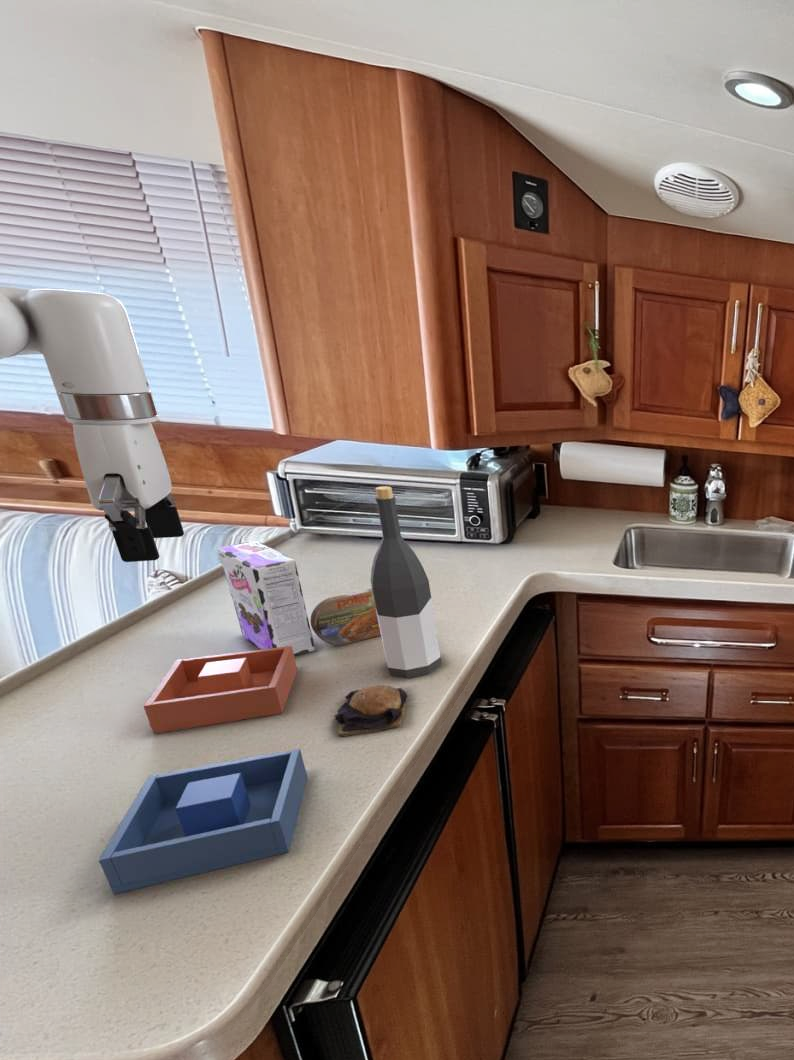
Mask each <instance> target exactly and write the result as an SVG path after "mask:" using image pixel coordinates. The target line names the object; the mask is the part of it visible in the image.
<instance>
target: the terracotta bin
mask: <svg viewBox="0 0 794 1060" xmlns="http://www.w3.org/2000/svg"><path fill="white" fill-rule="evenodd" d="M240 658H246V659H247V662H248V666H249V669H250V673H251V676H252V680H253V683H254V684H253V687H252V688H249V689H242V690H235V691H228V692H221V693H214V694H207V695H203V692H202V689H201V686H200V683H199V680H198V676H199V674H200V672H201V671H202V669H203V668H204V666H205V664H206V663H208V662H216V661H224V660H232V659H240ZM298 669H299V668H298V665H297V661H296V656H294V653H293V649H292V646H286V647H279V648H270V649H262V650H261V649H256V650H247V651H239V652H229V653H220V654H213V655H205V656H197V657H189V658H180V659H176V660H175V661H173V664H172V665H171V666H170V668H169V669H168V671H167V672H166V673H165V675H164V676H163V678H161V680H160V682H159V683H158V685H157V686H156V688H155V689H154V690H153V692H152V693H151V695H150V696H149V698H148V699H147V700H146V702H145V703H144V704H143V709H144V712H145V714H146V717H147V719H148V722H149V725H150V728H151V731H152V733H153V734H160V733H167V732H172V731H179V730H184V729H191V728H198V727H204V726H210V725H217V724H222V723H223V724H224V723H229V722H235V721H236V722H237V721H241V720H247V719H254V718H261V717H266V716H267V717H268V716H273V715H278V714H283V712H284V709H285V707H286V704H287V701H288V698H289V696H290V692H291V690H292V687H293V684H294V682H295V678H296V675H297V673H298V671H299V670H298Z"/></svg>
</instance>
